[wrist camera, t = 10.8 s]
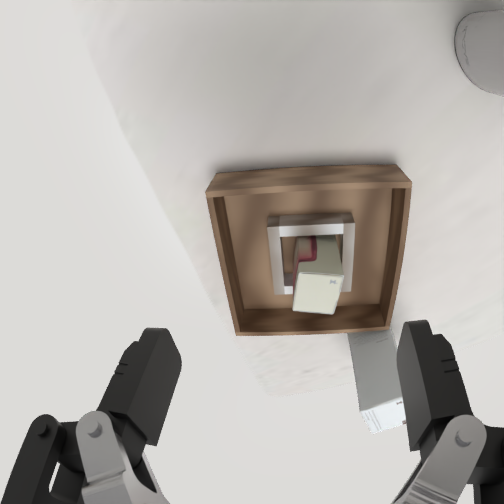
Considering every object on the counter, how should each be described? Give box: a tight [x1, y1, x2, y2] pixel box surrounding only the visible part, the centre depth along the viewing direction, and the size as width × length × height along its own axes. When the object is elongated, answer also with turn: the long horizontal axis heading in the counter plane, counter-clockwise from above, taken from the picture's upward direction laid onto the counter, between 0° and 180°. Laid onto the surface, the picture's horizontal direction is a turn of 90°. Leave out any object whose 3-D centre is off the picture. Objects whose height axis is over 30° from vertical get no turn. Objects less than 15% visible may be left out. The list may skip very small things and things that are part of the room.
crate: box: [205, 165, 412, 336], centre depth 35 cm, size 19×19×5 cm
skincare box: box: [347, 327, 406, 433], centre depth 37 cm, size 8×6×15 cm
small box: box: [293, 234, 344, 314], centre depth 33 cm, size 5×4×8 cm
